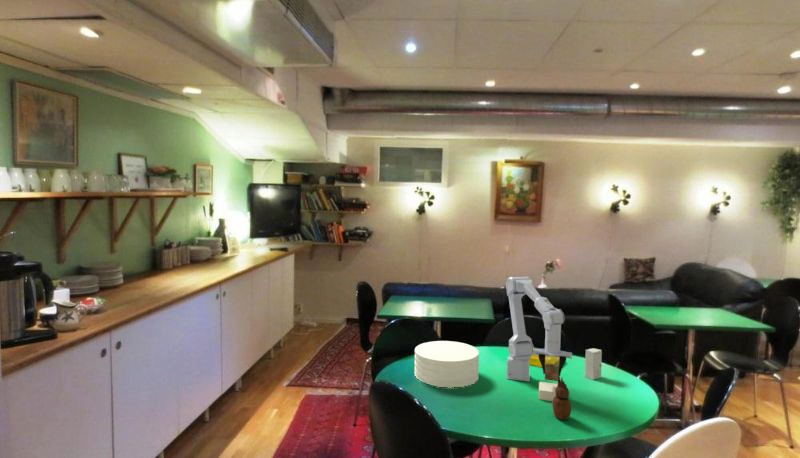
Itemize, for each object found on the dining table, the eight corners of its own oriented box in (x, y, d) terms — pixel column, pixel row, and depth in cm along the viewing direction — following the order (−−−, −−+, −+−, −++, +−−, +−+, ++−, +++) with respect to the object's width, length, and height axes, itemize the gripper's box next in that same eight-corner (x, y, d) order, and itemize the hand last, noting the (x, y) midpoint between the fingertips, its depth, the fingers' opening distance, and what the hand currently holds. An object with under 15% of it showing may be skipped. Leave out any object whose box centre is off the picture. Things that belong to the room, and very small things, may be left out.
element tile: (531, 355, 237) (531, 346, 237) (561, 361, 229) (562, 351, 228) (520, 363, 225) (520, 353, 225) (552, 370, 216) (552, 360, 216)
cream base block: (539, 400, 184) (539, 390, 183) (538, 391, 192) (539, 381, 192) (563, 403, 181) (563, 393, 181) (562, 394, 190) (562, 384, 190)
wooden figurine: (549, 413, 172) (550, 373, 171) (565, 413, 172) (566, 372, 171) (557, 422, 165) (558, 380, 164) (573, 421, 165) (574, 379, 164)
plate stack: (405, 382, 200) (405, 355, 199) (426, 361, 226) (426, 338, 225) (469, 393, 189) (470, 365, 189) (484, 370, 215) (485, 345, 215)
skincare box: (593, 380, 204) (594, 352, 203) (584, 376, 208) (585, 349, 207) (601, 377, 207) (602, 350, 207) (592, 374, 211) (593, 347, 210)
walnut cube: (544, 379, 185) (545, 367, 185) (545, 375, 190) (545, 363, 189) (558, 381, 183) (558, 368, 183) (558, 376, 188) (558, 364, 188)
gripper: (533, 341, 184) (532, 375, 185) (572, 345, 179) (571, 380, 180) (534, 336, 191) (533, 369, 191) (572, 340, 186) (571, 373, 187)
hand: (551, 374), depth 186 cm, fingers closed on walnut cube, 5 cm apart
